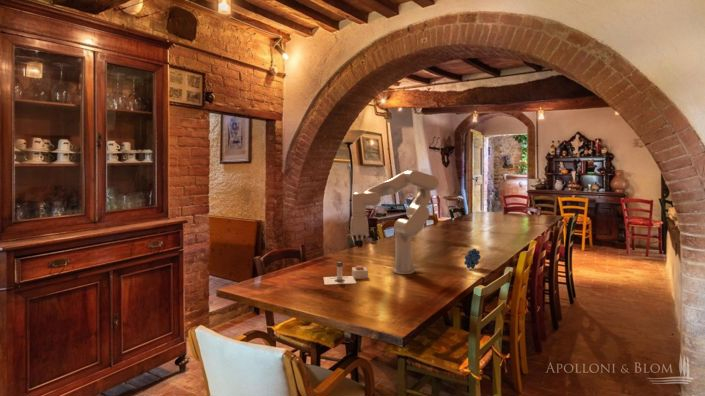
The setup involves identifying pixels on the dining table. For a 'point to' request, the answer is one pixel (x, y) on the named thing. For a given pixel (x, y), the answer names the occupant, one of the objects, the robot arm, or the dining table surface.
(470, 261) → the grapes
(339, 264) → the marker
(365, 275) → the button housing
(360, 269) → the button
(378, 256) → the dining table surface
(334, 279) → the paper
